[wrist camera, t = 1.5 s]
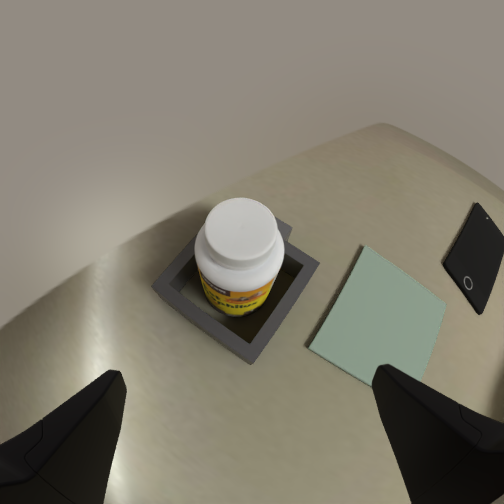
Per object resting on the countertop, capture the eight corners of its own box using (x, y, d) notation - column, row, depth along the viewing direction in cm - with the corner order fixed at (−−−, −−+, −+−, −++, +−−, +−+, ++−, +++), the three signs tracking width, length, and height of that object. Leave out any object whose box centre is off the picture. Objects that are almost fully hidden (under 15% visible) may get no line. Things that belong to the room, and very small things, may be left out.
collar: (250, 364, 21) (253, 363, 18) (160, 297, 23) (151, 286, 20) (318, 263, 25) (328, 248, 23) (235, 211, 27) (236, 192, 24)
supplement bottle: (195, 307, 23) (172, 256, 13) (216, 251, 25) (209, 176, 16) (259, 326, 22) (280, 287, 13) (275, 268, 25) (300, 199, 16)
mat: (406, 406, 19) (408, 406, 19) (307, 348, 22) (308, 347, 21) (444, 305, 24) (446, 304, 24) (363, 246, 26) (365, 245, 26)
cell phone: (440, 266, 27) (444, 263, 26) (474, 204, 32) (477, 201, 32) (477, 317, 24) (481, 315, 23) (503, 243, 30) (507, 240, 29)
